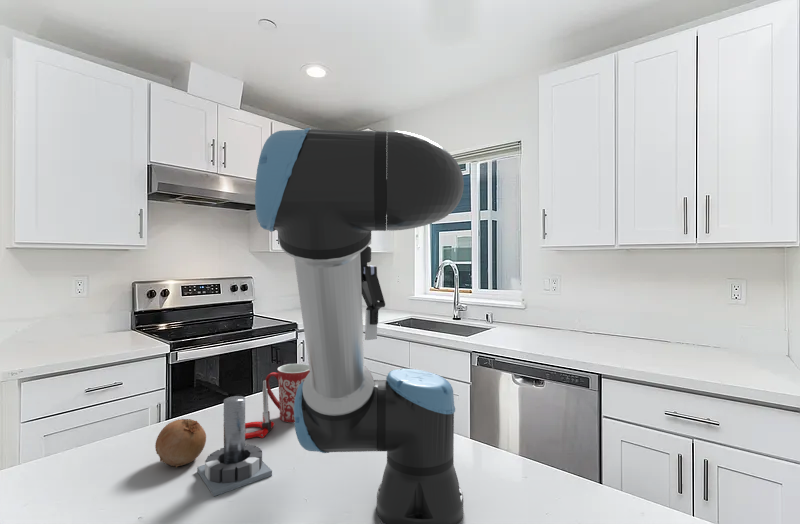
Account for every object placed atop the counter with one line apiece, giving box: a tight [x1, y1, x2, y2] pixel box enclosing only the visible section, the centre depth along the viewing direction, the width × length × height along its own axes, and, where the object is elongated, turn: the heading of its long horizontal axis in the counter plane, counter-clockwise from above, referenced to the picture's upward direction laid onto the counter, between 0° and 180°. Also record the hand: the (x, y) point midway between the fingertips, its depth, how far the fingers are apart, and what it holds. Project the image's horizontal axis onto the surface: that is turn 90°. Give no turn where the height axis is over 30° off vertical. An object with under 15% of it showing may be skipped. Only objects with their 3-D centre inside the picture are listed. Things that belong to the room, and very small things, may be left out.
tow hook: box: [245, 380, 275, 440], centre depth 102 cm, size 8×13×9 cm
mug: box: [264, 363, 310, 423], centre depth 111 cm, size 13×9×14 cm
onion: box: [154, 418, 207, 469], centre depth 87 cm, size 10×9×10 cm
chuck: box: [196, 443, 273, 497], centre depth 82 cm, size 11×11×4 cm
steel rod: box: [223, 395, 246, 464], centre depth 82 cm, size 4×4×14 cm
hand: (353, 336), depth 96 cm, fingers open, 13 cm apart
